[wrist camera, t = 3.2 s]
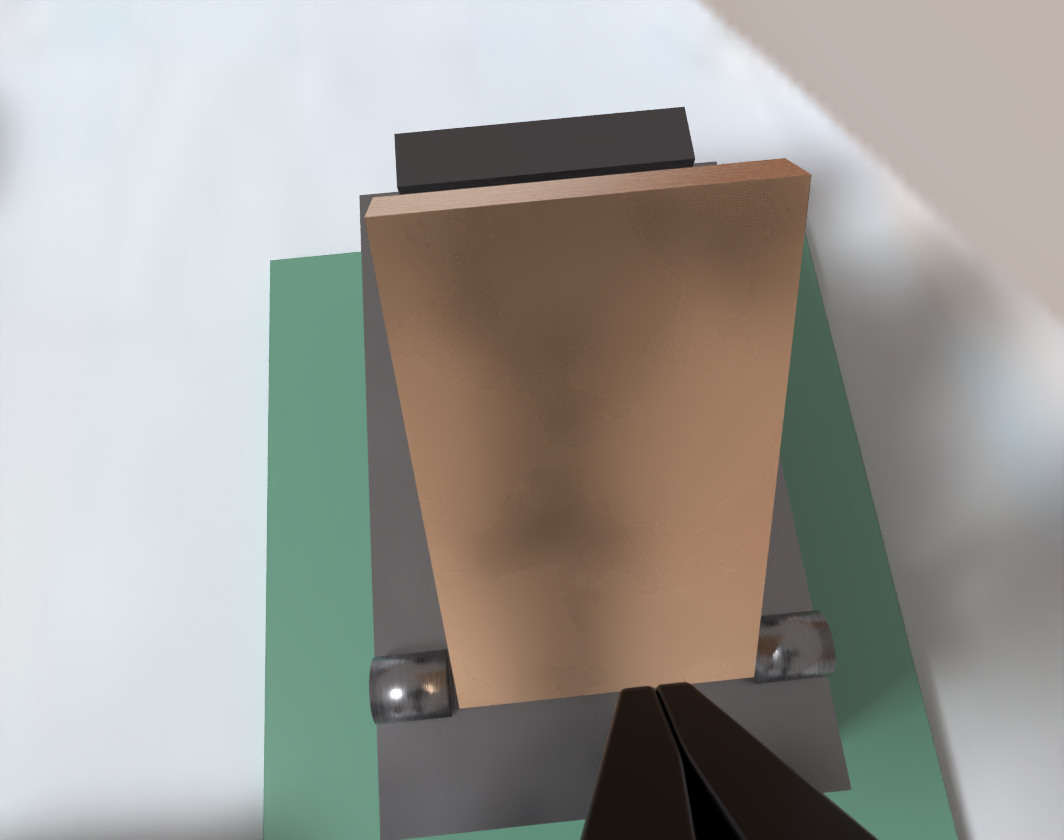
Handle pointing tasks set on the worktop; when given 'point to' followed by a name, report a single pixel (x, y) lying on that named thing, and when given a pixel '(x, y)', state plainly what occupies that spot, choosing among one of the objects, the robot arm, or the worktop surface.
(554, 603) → the brown rectangular board
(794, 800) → the robot arm
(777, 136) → the worktop surface
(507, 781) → the grey open box
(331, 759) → the board
